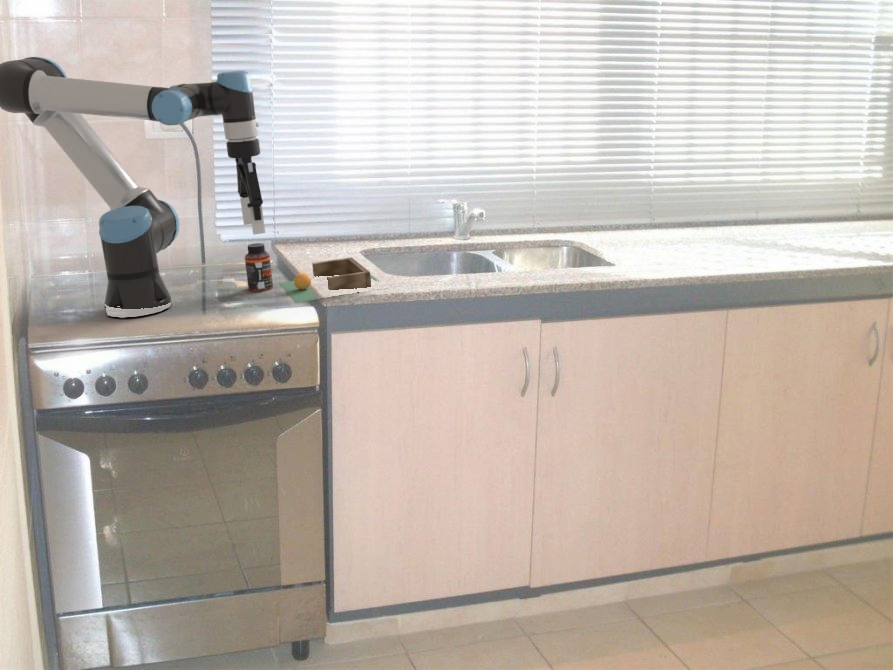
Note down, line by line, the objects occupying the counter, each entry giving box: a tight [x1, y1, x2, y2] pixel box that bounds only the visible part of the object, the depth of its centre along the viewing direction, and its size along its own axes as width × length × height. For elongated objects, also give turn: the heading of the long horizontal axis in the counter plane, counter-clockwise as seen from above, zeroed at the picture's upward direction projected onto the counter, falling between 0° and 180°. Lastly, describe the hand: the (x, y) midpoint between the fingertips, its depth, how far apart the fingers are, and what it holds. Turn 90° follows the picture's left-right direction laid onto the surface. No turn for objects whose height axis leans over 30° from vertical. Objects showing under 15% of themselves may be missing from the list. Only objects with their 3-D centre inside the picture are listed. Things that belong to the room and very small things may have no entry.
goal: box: [311, 256, 371, 290], centre depth 269 cm, size 10×18×4 cm, turn 19°
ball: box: [293, 272, 311, 290], centre depth 266 cm, size 4×4×4 cm
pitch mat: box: [279, 273, 380, 304], centre depth 268 cm, size 22×21×1 cm
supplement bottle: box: [244, 242, 274, 293], centre depth 269 cm, size 6×6×11 cm
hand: (254, 228), depth 266 cm, fingers open, 13 cm apart
